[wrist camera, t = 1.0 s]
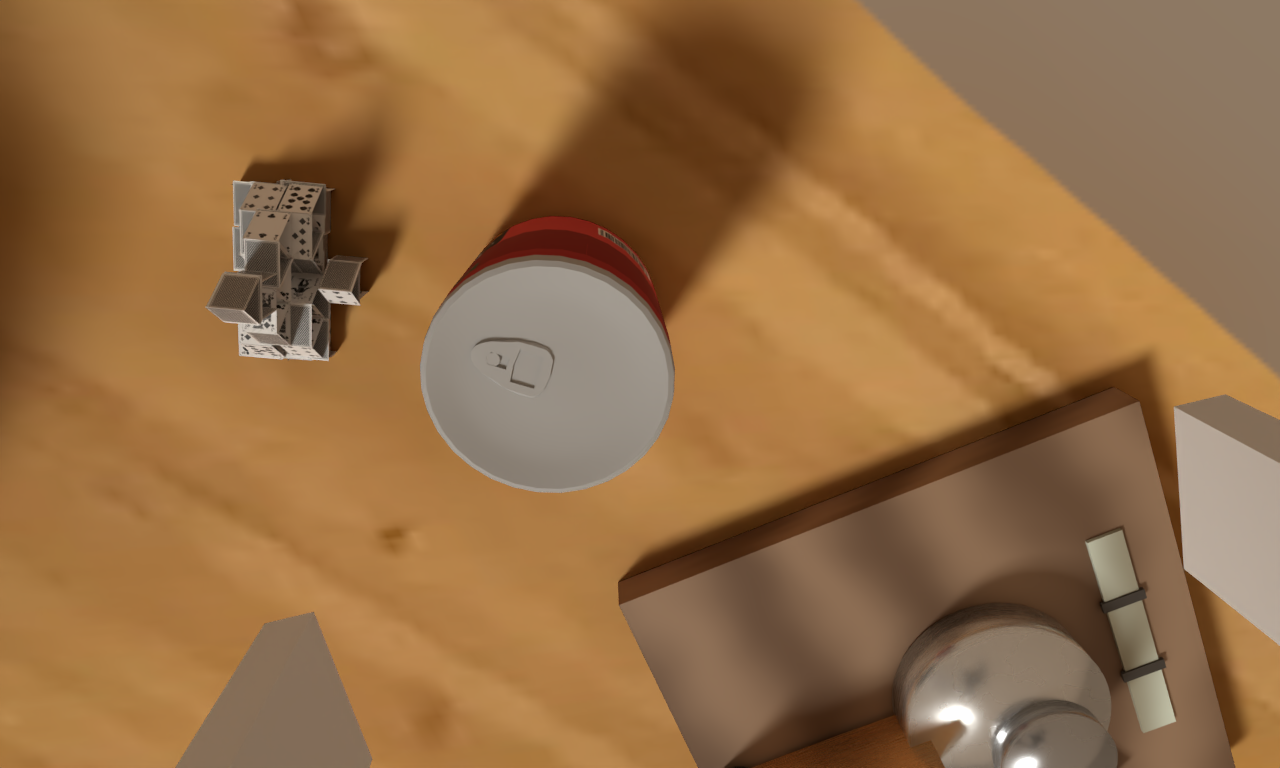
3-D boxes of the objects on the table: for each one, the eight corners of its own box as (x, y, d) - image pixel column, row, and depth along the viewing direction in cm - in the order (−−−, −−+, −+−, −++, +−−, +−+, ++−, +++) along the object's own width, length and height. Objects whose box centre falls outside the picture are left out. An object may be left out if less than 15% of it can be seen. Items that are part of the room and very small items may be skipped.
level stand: (779, 916, 49) (787, 954, 47) (618, 582, 43) (618, 608, 41) (1215, 760, 47) (1245, 793, 45) (1114, 386, 41) (1143, 403, 39)
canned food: (466, 207, 37) (414, 251, 27) (662, 217, 38) (685, 264, 27) (466, 387, 40) (419, 491, 29) (651, 394, 40) (668, 500, 30)
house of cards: (450, 401, 40) (417, 469, 33) (247, 384, 40) (166, 449, 32) (460, 194, 38) (426, 217, 30) (242, 172, 37) (153, 190, 30)
